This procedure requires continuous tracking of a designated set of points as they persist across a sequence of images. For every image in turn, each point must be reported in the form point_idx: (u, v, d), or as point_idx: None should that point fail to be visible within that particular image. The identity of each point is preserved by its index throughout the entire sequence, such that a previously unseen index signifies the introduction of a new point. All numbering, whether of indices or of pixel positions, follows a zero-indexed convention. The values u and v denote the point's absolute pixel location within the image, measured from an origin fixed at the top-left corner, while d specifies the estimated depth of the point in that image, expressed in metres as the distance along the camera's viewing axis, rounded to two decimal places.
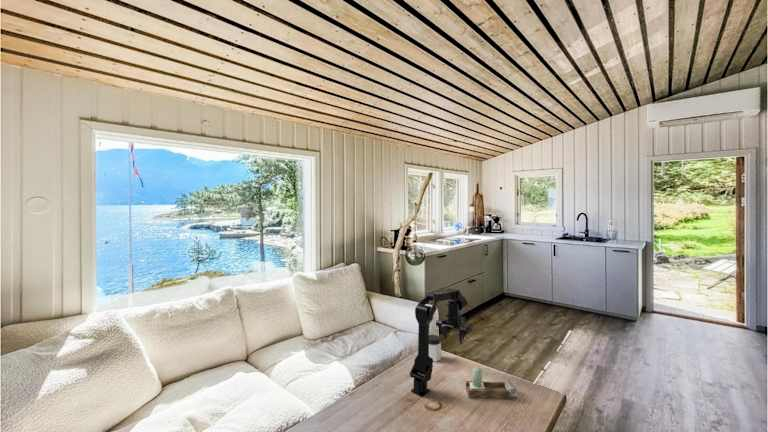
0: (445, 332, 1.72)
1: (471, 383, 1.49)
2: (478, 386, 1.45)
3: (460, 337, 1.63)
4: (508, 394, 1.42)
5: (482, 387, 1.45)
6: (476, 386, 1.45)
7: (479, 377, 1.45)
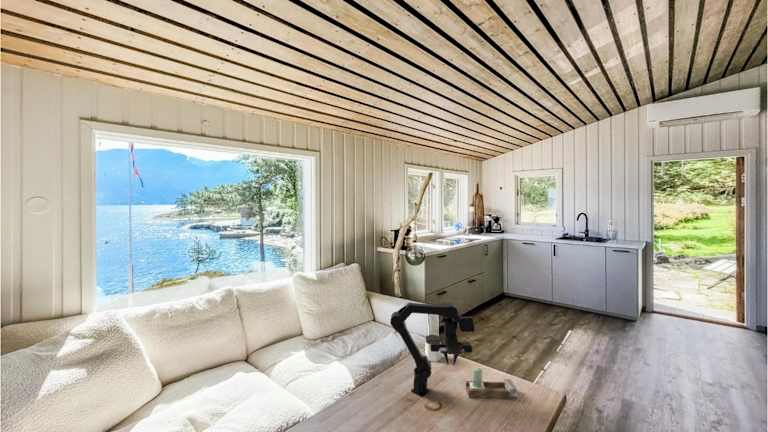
0: (453, 357, 1.47)
1: (471, 383, 1.49)
2: (478, 386, 1.45)
3: None
4: (508, 394, 1.42)
5: (482, 387, 1.45)
6: (476, 386, 1.45)
7: (479, 377, 1.45)
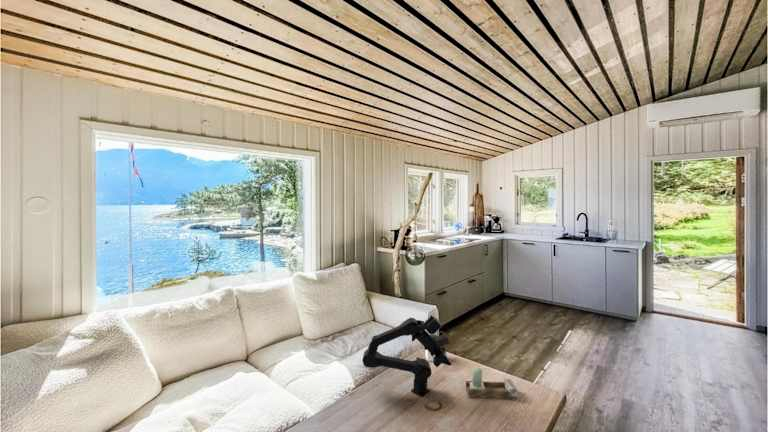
0: None
1: (471, 383, 1.49)
2: (478, 386, 1.45)
3: None
4: (508, 394, 1.42)
5: (482, 387, 1.45)
6: (476, 386, 1.45)
7: (479, 377, 1.45)
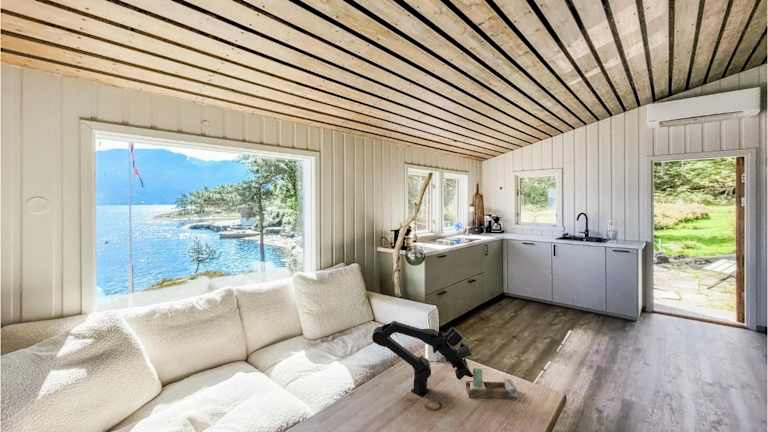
0: None
1: (471, 383, 1.49)
2: (478, 386, 1.45)
3: None
4: (508, 394, 1.42)
5: (482, 387, 1.45)
6: (476, 386, 1.45)
7: (479, 377, 1.45)
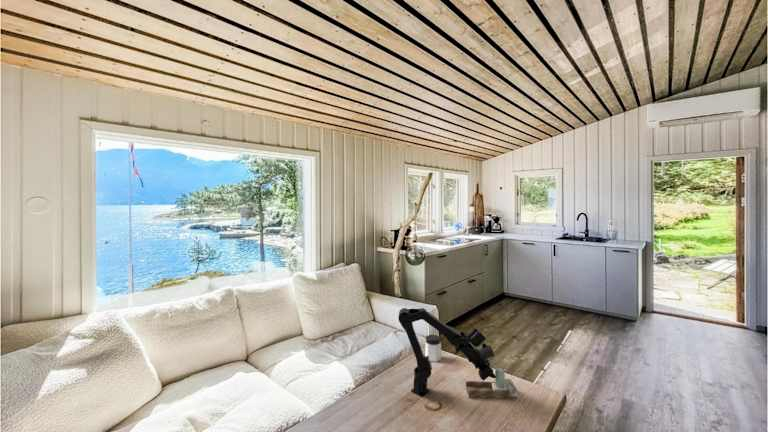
0: None
1: (494, 384, 1.48)
2: (501, 387, 1.44)
3: None
4: (508, 394, 1.42)
5: (505, 388, 1.44)
6: (499, 387, 1.44)
7: (502, 378, 1.44)
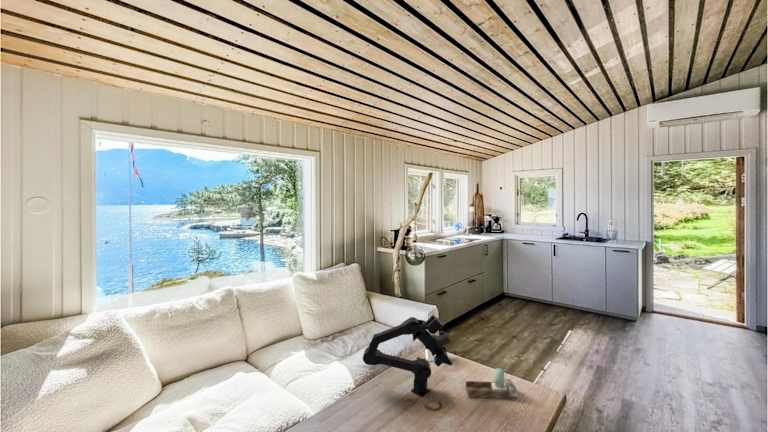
0: None
1: (493, 384, 1.48)
2: (501, 387, 1.44)
3: None
4: (508, 394, 1.42)
5: (505, 388, 1.44)
6: (499, 387, 1.44)
7: (502, 378, 1.44)
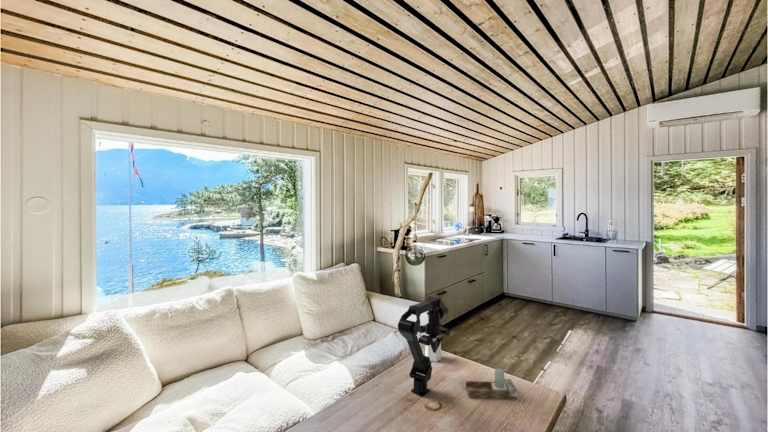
0: None
1: (493, 384, 1.48)
2: (501, 387, 1.44)
3: (439, 344, 1.59)
4: (508, 394, 1.42)
5: (505, 388, 1.44)
6: (499, 387, 1.44)
7: (502, 378, 1.44)
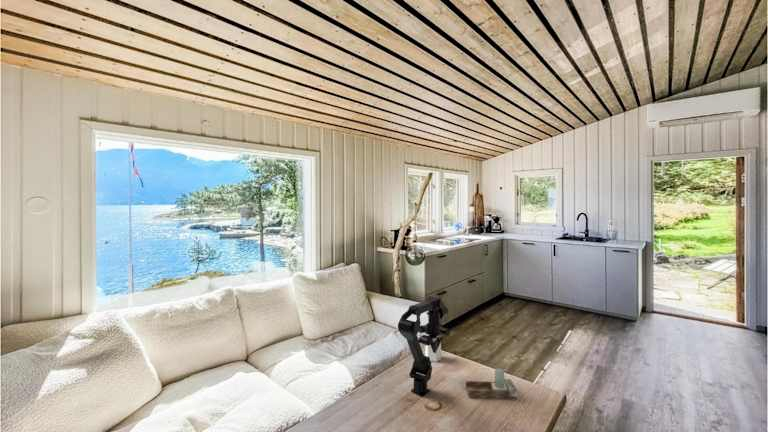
0: None
1: (493, 384, 1.48)
2: (501, 387, 1.44)
3: (439, 344, 1.59)
4: (508, 394, 1.42)
5: (505, 388, 1.44)
6: (499, 387, 1.44)
7: (502, 378, 1.44)
